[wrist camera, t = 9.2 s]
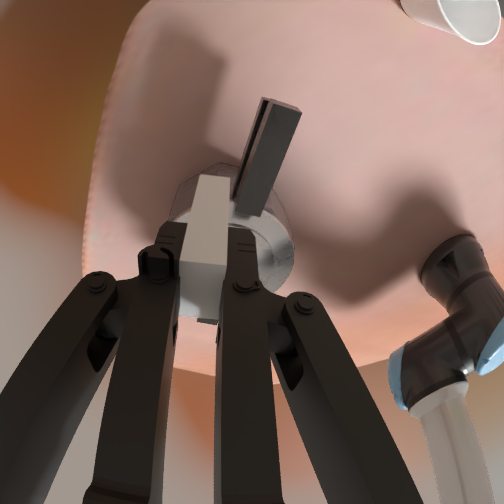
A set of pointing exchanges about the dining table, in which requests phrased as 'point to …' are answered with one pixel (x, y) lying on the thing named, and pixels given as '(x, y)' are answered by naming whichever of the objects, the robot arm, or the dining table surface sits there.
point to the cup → (458, 17)
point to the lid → (264, 196)
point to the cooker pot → (231, 179)
